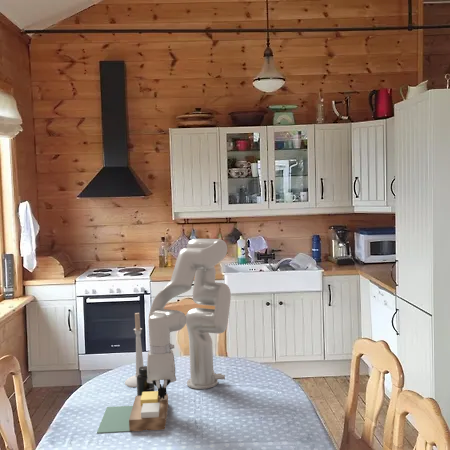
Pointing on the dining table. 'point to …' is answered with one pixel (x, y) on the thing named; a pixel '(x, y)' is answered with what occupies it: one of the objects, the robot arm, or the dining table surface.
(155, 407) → the white flat block
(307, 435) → the dining table surface
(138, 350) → the candlestick
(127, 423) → the mat
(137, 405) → the board
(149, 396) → the yellow rectangular block
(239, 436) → the dining table surface
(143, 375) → the supplement bottle
